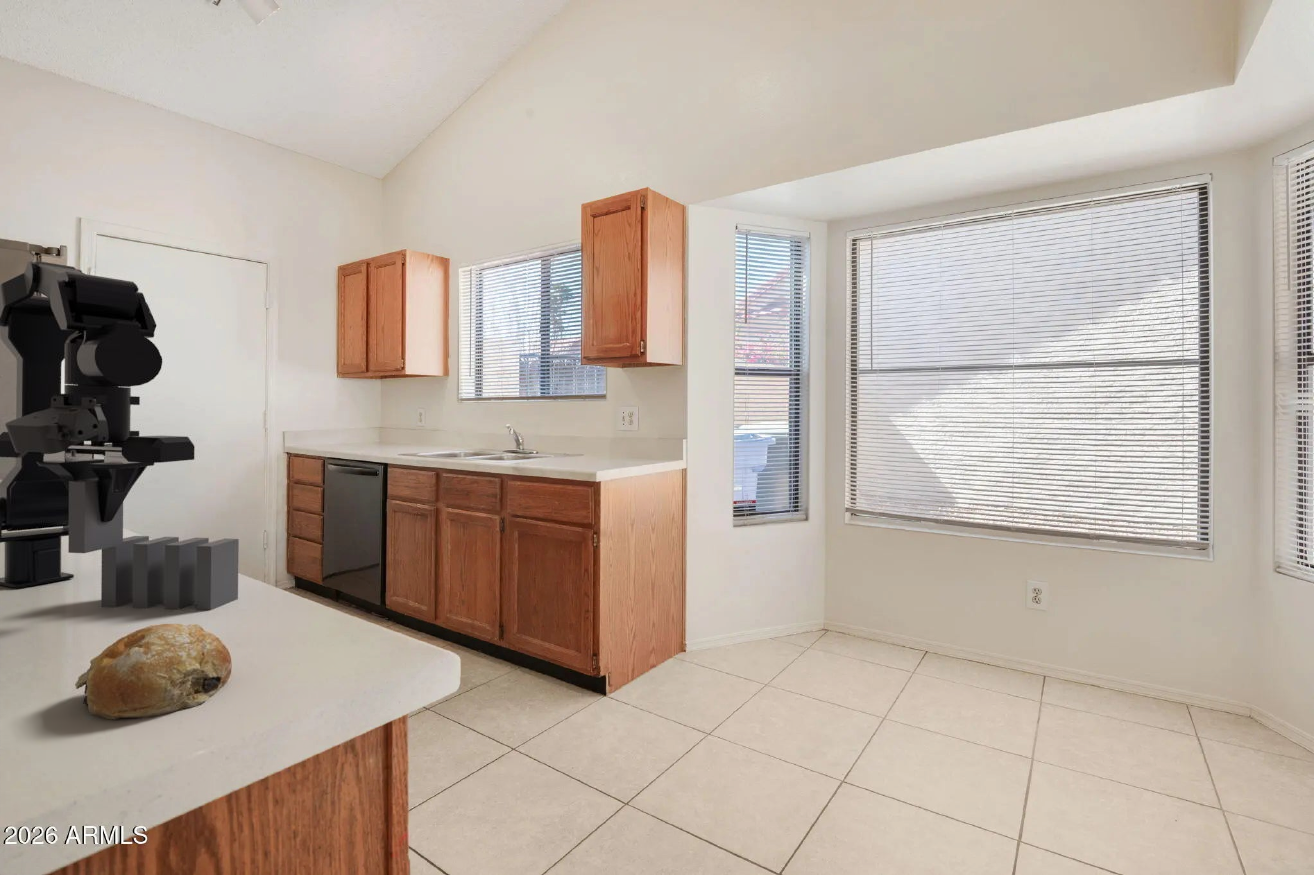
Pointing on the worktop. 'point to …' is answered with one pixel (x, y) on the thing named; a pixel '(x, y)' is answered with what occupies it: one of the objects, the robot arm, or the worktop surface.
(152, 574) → the tile
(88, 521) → the tile
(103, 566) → the tile
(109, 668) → the bread roll
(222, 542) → the tile
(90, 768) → the worktop surface
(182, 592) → the tile
